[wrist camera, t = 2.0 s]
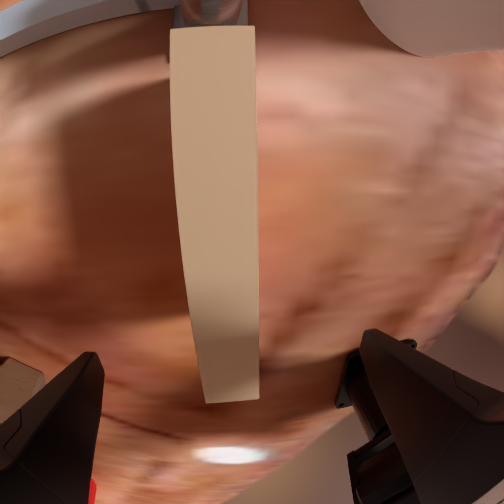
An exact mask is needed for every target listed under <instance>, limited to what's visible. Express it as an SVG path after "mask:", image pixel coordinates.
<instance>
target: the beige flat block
mask: <svg viewBox="0 0 504 504" xmlns="http://www.w3.org/2000/svg"><path fill="white" fill-rule="evenodd" d="M170 107H171V133H172V151H173V167H174V181H175V193H176V205H177V216H178V226H179V235H180V244H181V253H182V261H183V269H184V277H185V284H186V292H187V299H188V306H189V312H190V319H191V325H192V331H193V337H194V343H195V349H196V355H197V361H198V366H199V371H200V377H201V382H202V387H203V392H204V397H205V402H206V403H221V402H233V401H244V400H253V399H259V262H258V175H257V110H256V58H255V26H205V27H189V28H178V29H170Z"/></svg>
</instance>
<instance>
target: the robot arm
mask: <svg viewBox="0 0 504 504" xmlns="http://www.w3.org/2000/svg"><path fill="white" fill-rule="evenodd" d="M416 347H417V343H416V341H415V340H413V339H412V340H408V341H404V342H400V341H398V340H397V339H395V338H393V337H391V336H389V335H387V334H385V333H384V332H382V331H380V330H378V329H375V328H373V329H368V330H365V331H364V333H363V336H362V341H361V345H360V352H355V353H352V354H350V355H348V357H347V358H346V362H345V366H344V370H343V374H342V378H341V382H340V386H339V389H338V393H337V397H336V400H335V406H336V408H338V409H339V408H344V407H348V406H353V408H354V410H355V412H356V414H357V416H358V418H359V420H360V423H361V425H362V427H363V429H364V431H365V433H366V435H367V438H368V440H369V442H368V443H366V444H365V445H363V446H362V447H360V448H358V449H357V450H355V451H352V452H350V453H348V454H347V459H348V468H349V474H350V480H351V487H352V493H353V500H354V504H504V392H501V391H499V390H497V389H494V388H491V387H489V386H487V385H484V384H482V383H480V382H477V381H475V380H473V379H471V378H469V377H467V376H465V375H463V374H461V373H459V372H457V371H455V370H452V369H451V368H449V367H447V366H446V365H444V364H442V363H440V362H438V361H436V360H434V359H432V358H430V357H429V356H427V355H425V354H423V353H421V352H419V351H417V350H415V349H416ZM104 377H105V373H104V369H103V366H102V364H101V362H100V359H99V357H98V355H97V353H96V352H84V353H83V354H81V355H80V356H79V357H78V358H77V359H75V360H74V361H73V362H72V363H71V364H70V365H68V366H67V367H66V368H65V369H64V370H63V371H61V372H60V373H59V374H58V375H57V376H56V377H54V378H53V379H52V380H51V381H50V382H49V383H48V384H46V385H45V386H44V387H43V388H42V389H41V390H40V391H38V392H37V393H36V394H35V395H34V396H33V397H32V398H30V399H29V400H28V401H27V402H26V403H25V404H24V405H23V406H21V409H20V408H19V409H18V410H17V411H16V412H15V413H14V414H12V415H11V416H10V417H9V418H8V419H7V420H5V421H4V422H3V423H2V424H0V504H88V502H89V491H90V482H91V474H92V466H93V459H94V452H95V446H96V439H97V434H98V428H99V422H100V417H101V409H102V397H103V386H104Z"/></svg>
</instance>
